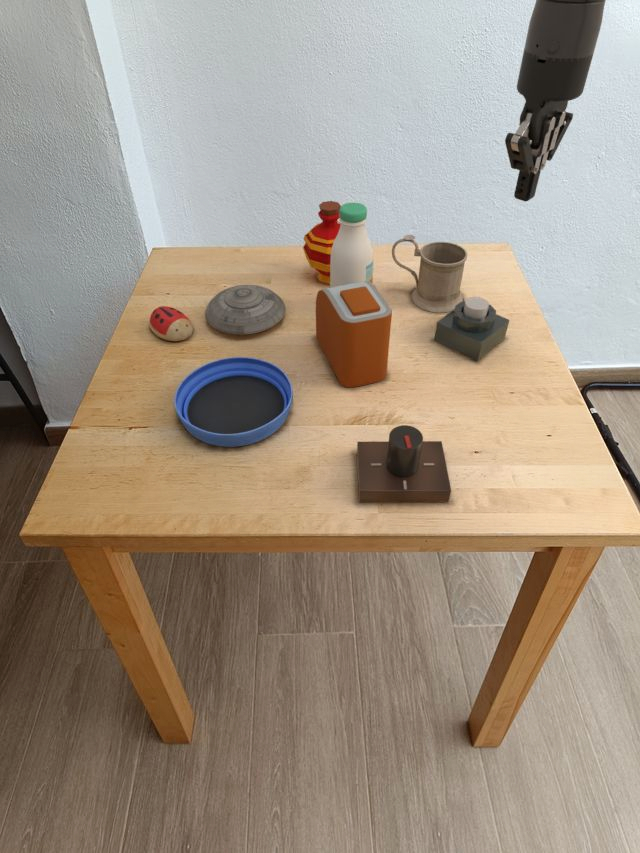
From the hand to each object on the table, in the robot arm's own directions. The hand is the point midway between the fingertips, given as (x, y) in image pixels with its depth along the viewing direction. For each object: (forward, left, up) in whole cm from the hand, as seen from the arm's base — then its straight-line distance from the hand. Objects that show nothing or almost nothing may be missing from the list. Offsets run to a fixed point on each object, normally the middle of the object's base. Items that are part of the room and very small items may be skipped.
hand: (523, 198), depth 78 cm
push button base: (+6, -5, -29) cm, 30 cm away
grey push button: (+6, -5, -23) cm, 25 cm away
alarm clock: (+18, +13, -29) cm, 37 cm away
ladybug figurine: (+48, +29, -29) cm, 63 cm away
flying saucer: (+41, +17, -29) cm, 53 cm away
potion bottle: (+39, -4, -29) cm, 49 cm away
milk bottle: (+28, +2, -29) cm, 41 cm away
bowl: (+23, +35, -29) cm, 51 cm away
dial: (-5, +28, -26) cm, 39 cm away
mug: (+20, -11, -29) cm, 37 cm away
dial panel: (-4, +28, -29) cm, 41 cm away
